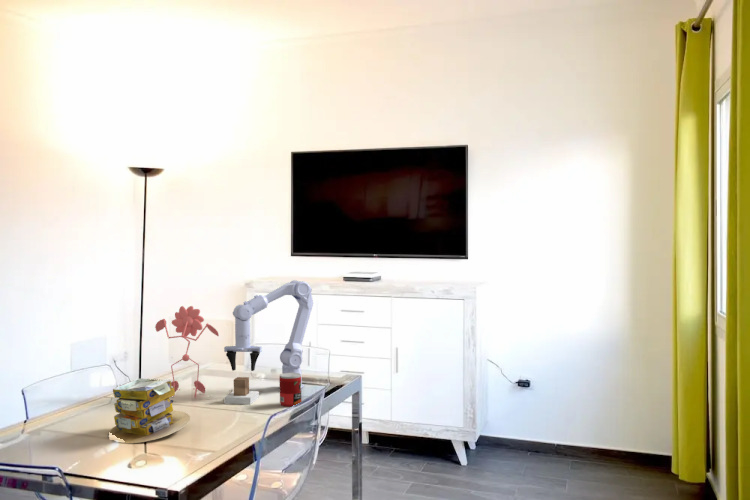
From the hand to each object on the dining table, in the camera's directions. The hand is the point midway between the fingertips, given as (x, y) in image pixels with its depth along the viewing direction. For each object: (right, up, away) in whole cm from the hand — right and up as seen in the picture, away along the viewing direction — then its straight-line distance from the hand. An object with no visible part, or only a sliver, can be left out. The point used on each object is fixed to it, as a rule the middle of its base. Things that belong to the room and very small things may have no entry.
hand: (243, 370), depth 251 cm
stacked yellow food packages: (-20, -11, -47) cm, 52 cm away
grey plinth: (+1, -10, -8) cm, 13 cm away
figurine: (-22, -10, +5) cm, 25 cm away
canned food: (+20, -10, -15) cm, 27 cm away
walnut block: (+1, -8, -8) cm, 11 cm away
